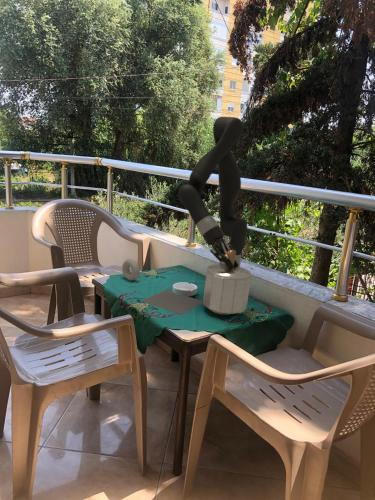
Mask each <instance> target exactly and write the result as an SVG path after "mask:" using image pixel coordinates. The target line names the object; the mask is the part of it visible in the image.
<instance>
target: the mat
mask: <svg viewBox="0 0 375 500" xmlns="http://www.w3.org/2000/svg"><path fill="white" fill-rule="evenodd" d="M173 292H174V291H171V290H168V289H165V290H162V291H161V292H158V293H155V294H153V295H150V296H148V297H146V298H144V299H141V300H140V302H142V303H146V304H148V305H152V306H154V307H158V308H160V309H162V310H165V311H169V312H171V313H175V314H177V315H183V314H185V313H186V312H189V311H190V310H193V309H194V308H196V307H198V306H200V305H203V300H200V299H196V298H194V297H191V296H187V295H185V296H179V295H176V294H174V293H173Z"/></svg>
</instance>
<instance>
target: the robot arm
mask: <svg viewBox="0 0 375 500" xmlns="http://www.w3.org/2000/svg"><path fill="white" fill-rule="evenodd" d="M243 124H244V123H243V122H242V120H241V119H240V118H239V117H235V116H218V117H217V118H216V119H215V120H214V122H213V127H212V132H213V134H212V135H213V139H214V146H213V147H212V148H211V149H210V150H209V151H207V152H206V153H205V154H204V155H203V156H202V157H200V159H199V160H198V161H197V163H196V164H195V166H194V168H193V169H192V170H191V172H190V175H189V179H188V182H186V183H187V184H183V185H181V186H180V187H179V189H178V192H177V195H178V198H179V202H180V203H181V204H182V205H183V206H184V207H185V208H186V210H187V211H188V214H189V216H190V218H191V220H192V221H193V223H194V224H195V225H196V228H197V230H198V231H199V233H200V235H201V236H202V238H203V240H204V241H205V243H206V245H208V246H211V247H212V248H211V249H210V250H209V252H210V253H211V254H212V255H213V256H214V257H215V258H216V259H217V260H218V261H219V264H226V266H227V267H228V269H229V270H232V269H233V268H237V267H241V259H242V253H243V250H244V247H245V244H246V243H245V242H246V238H247V232H248V223H247V221H246V220H245V219H244V218H241V217H237V216H235V213H234V206H235V201H236V200H237V198H238V196H239V194H240V191H241V189H242V188H241V187H242V179H241V176H242V175H241V170H240V168H239V165H238V163H237V161H236V159H235V157H234V155H233V153H232V152H233V151H232V148H233V146H234V145H236V143H237V142H238V140H239V139H240V138H241V136H242V134H243V133H244V125H243ZM216 168H217V170H218V187H219V201H220V202H219V204H220V207H219V209H220V211H219V212H220V213H219V214H220V215H219V223H218V222H217V221H216V219H215V217H214V216H213V215H212V214H211V213H210V210H209V209H208V208H207V206H206V205H205V204H204V202H203V200H202V198H201V197H200V195H201V193H202V191H203V189H204V187H205V185H206V183H208V180H209V179H210V177H211V176H212V174H213V172H214V171H215V170H216ZM224 237H228V238H230V241H229V242H227V241H226V240H225V239H224ZM228 249H233V250H236V255H235V262H234V265H233V264H232V262H231V261H230V259H229V258H228V256H227V250H228ZM228 259H229V260H228Z"/></svg>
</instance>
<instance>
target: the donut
mask: <svg viewBox="0 0 375 500" xmlns="http://www.w3.org/2000/svg"><path fill="white" fill-rule="evenodd" d="M121 268H122V275H123V276H124V278H125V279H126V280H127V281H131V282H132V281H136V280H137V279H138V278H139V276H140V267H139V264H138V262H137V261H136V260H134V259H133V258H128V259H125V260H124V262H123V264H122V267H121Z"/></svg>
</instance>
